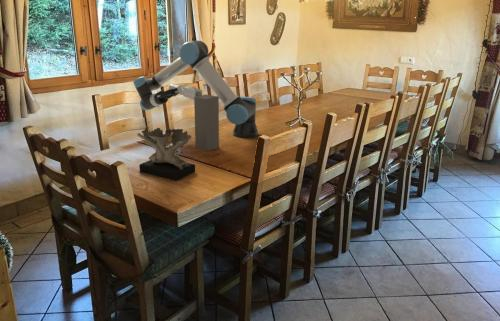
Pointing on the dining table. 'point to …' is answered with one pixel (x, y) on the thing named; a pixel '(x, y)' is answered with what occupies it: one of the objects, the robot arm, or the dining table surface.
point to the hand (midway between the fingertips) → (184, 87)
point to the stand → (206, 122)
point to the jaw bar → (188, 91)
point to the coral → (166, 155)
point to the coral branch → (175, 150)
